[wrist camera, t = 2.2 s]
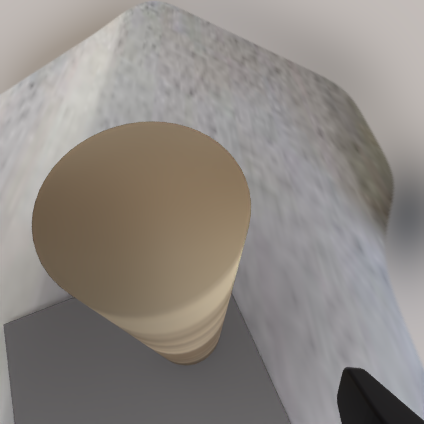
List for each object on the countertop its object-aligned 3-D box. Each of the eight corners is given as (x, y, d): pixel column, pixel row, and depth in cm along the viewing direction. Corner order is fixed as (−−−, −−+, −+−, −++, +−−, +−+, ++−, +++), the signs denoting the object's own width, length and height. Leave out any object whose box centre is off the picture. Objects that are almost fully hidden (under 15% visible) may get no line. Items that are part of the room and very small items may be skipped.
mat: (335, 525, 14) (338, 529, 13) (52, 703, 11) (47, 714, 11) (209, 247, 20) (209, 244, 20) (7, 326, 18) (3, 324, 17)
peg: (231, 347, 17) (290, 255, 5) (166, 377, 16) (53, 355, 4) (205, 285, 18) (202, 101, 7) (145, 310, 18) (17, 155, 6)
